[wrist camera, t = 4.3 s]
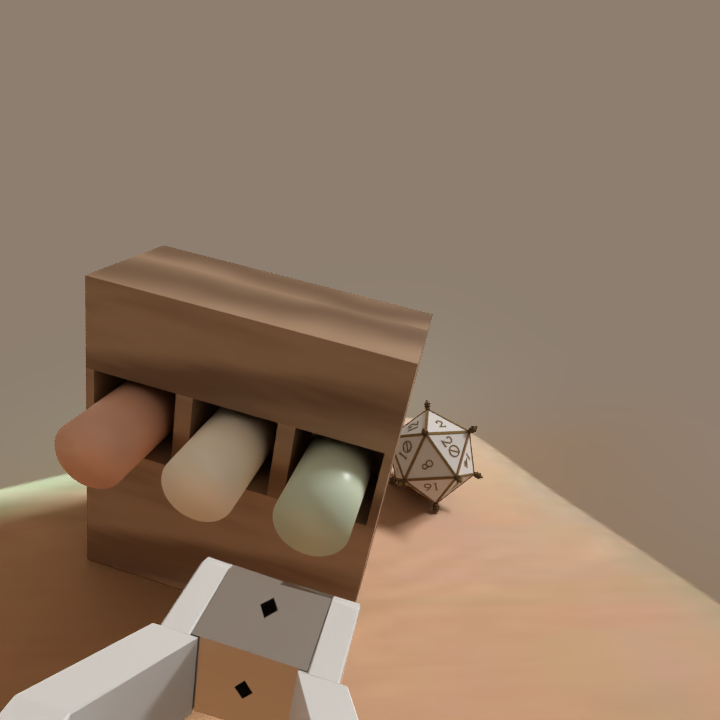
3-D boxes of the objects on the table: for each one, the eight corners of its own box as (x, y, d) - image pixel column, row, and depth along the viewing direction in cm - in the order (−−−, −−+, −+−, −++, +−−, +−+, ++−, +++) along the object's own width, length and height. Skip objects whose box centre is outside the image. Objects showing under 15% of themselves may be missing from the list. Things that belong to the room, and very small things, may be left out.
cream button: (231, 531, 29) (239, 468, 28) (159, 508, 30) (163, 445, 28) (271, 467, 35) (280, 411, 33) (210, 449, 35) (215, 393, 34)
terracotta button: (124, 498, 30) (126, 434, 28) (55, 476, 30) (53, 412, 29) (180, 440, 35) (184, 384, 34) (121, 422, 36) (122, 366, 34)
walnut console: (344, 643, 36) (417, 364, 28) (87, 559, 38) (85, 275, 30) (368, 556, 44) (432, 314, 35) (151, 489, 46) (163, 245, 37)
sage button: (343, 566, 29) (358, 503, 27) (267, 542, 29) (278, 479, 27) (366, 495, 34) (380, 439, 32) (302, 476, 35) (313, 420, 33)
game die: (431, 522, 54) (519, 470, 51) (390, 536, 47) (490, 476, 44) (387, 440, 58) (467, 386, 54) (342, 441, 50) (432, 378, 47)
